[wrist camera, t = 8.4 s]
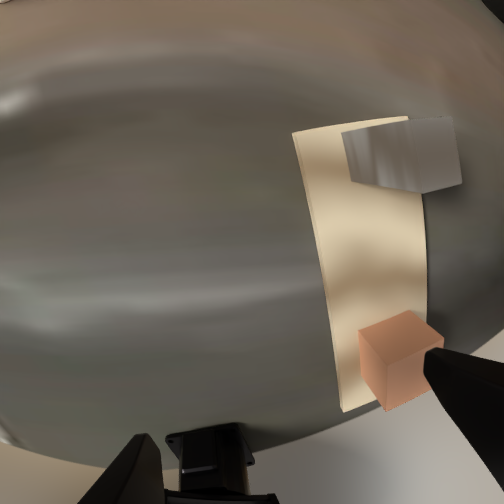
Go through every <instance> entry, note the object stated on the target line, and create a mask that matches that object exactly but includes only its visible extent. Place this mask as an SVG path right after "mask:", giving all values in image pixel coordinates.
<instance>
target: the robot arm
mask: <svg viewBox="0 0 504 504" xmlns="http://www.w3.org/2000/svg"><path fill="white" fill-rule="evenodd" d="M423 374H424V376H425V378H426V380H427V381H428V383H429V385H430V386H431V388H432V390H433V391H434V393H435V395H436V396H437V398H438V400H439V401H440V403H441V405H442V406H443V408H444V409H445V411H446V412H447V413H448V415H449V416H450V417H451V419H452V420H453V421H454V423H455V424H456V425H457V426H458V428H459V429H460V431H461V432H462V433H463V435H464V436H465V437H466V439H467V440H468V441H469V443H470V444H471V446H472V447H473V448H474V450H475V451H476V452H477V454H478V455H479V457H480V458H481V459H482V461H483V462H484V464H485V465H486V466H487V468H488V469H489V471H490V472H491V474H492V475H493V477H494V478H495V479H496V481H497V482H498V484H499V485H500V487H501V488H502V490H503V491H504V363H501V362H497V361H493V360H488V359H484V358H480V357H476V356H472V355H467V354H463V353H459V352H455V351H451V350H447V349H443V348H439V347H434V348H432V349H430V350H428V351H426V353H425V355H424V365H423ZM165 442H166V443H167V445H168V446H169V448H170V449H171V450H172V452H173V453H174V454H175V456H176V457H177V458H178V459H179V490H178V491H171V490H168V489H164V484H163V475H162V464H161V454H160V450H159V448H158V447H157V445H156V444H155V442H154V441H153V440H152V438H151V437H150V435H149V434H147V433H143V434H136V435H134V436H133V438H132V439H131V440H130V441H129V442H128V444H127V445H126V446H125V447H124V448H123V450H122V451H121V452H120V453H119V455H118V456H117V457H116V458H115V459H114V461H113V462H112V463H111V464H110V465H109V467H108V468H107V469H106V470H105V471H104V473H103V474H102V475H101V476H100V477H99V479H98V480H97V481H96V482H95V483H94V484H93V486H92V487H91V488H90V489H89V490H88V491H87V493H86V494H85V495H84V496H83V497H82V499H81V500H80V501H79V502H78V503H77V504H279V501H278V499H277V497H276V495H275V494H274V493H271V494H267V495H251V492H250V486H249V479H248V473H247V466H251V465H254V464H255V460H254V457H253V455H252V453H251V451H250V449H249V447H248V445H247V443H246V441H245V439H244V437H243V435H242V433H241V431H240V428H239V426H238V425H237V424H227V425H223V426H218V427H213V428H208V429H202V430H197V431H191V432H185V433H179V434H172V435H167V436H166V438H165Z"/></svg>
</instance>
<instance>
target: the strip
mask: <svg viewBox="0 0 504 504" xmlns="http://www.w3.org/2000/svg"><path fill="white" fill-rule="evenodd" d="M292 136H293V140H294V144H295V148H296V152H297V157H298V161H299V165H300V169H301V174H302V178H303V182H304V187H305V191H306V196H307V200H308V205H309V210H310V215H311V219H312V224H313V229H314V234H315V239H316V245H317V250H318V255H319V261H320V266H321V272H322V277H323V283H324V289H325V295H326V301H327V307H328V314H329V320H330V327H331V334H332V341H333V348H334V355H335V363H336V371H337V379H338V388H339V397H340V406H341V408H342V410H343V412H347V411H349V410H352V409H354V408H357V407H359V406H362V405H364V404H367V403H369V402H371V401H374V400H376V399H377V398H376V397H375V395H374V394H373V392H372V391H371V389H370V388H369V386H368V385H367V384H366V382H365V381H364V379H363V378H362V376H361V367H360V352H359V339H358V330H360V329H363V328H366V327H368V326H371V325H373V324H376V323H378V322H381V321H383V320H386V319H388V318H391V317H393V316H396V315H398V314H400V313H403V312H405V311H408V310H410V311H412V312H413V313H414V314H415V315H417V316H418V317H419V318H420V319H422V320H423V321H424V322H425V323H426V315H427V262H426V241H425V227H424V215H423V205H422V196H421V193H422V194H423V193H427V192H431V191H435V190H439V189H443V188H447V187H451V186H455V185H459V184H462V178H461V169H460V162H459V155H458V148H457V142H456V136H455V131H454V126H453V121H452V116H448V117H433V118H421V119H410V120H408V116H401V117H392V118H383V119H374V120H367V121H359V122H352V123H346V124H339V125H333V126H327V127H321V128H315V129H310V130H305V131H299V132H295V133H292Z"/></svg>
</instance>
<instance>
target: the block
mask: <svg viewBox="0 0 504 504" xmlns="http://www.w3.org/2000/svg"><path fill="white" fill-rule="evenodd" d="M358 339H359V352H360V367H361V376H362V378H363V379H364V381H365V382H366V384H367V385H368V386H369V388H370V389H371V391H372V392H373V394H374V395H375V397H376V398H377V400H378V401H379V403H380V404H381V405H382V407H383V408H384V410H385V411H386V412H387V411H389V410H391V409H393V408H395V407H397V406H399V405H401V404H403V403H406V402H407V401H410V400H412V399H414V398H415V397H417V396H419V395H421V394H423V393H425V392H427V391H429V390H431V389H432V388H431V386H430V385H429V383H428V381H427V380H426V378H425V376H424V374H423V365H424V355H425V353H426V351H428V350H430V349H432V348H434V347H439V348H443V345H444V337H442V336H441V335H440V334H439V333H438V332H436V331H435V330H434V329H433V328H431V327H430V326H429V325H428V324H427V323H425V322H424V321H423V320H422V319H420V318H419V317H418V316H417V315H415V314H414V313H413V312H412V311H410V310H408V311H405V312H403V313H400V314H398V315H396V316H393V317H391V318H388V319H386V320H383V321H381V322H378V323H376V324H373V325H371V326H368V327H366V328H363V329H360V330H358Z"/></svg>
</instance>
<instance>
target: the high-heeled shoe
mask: <svg viewBox="0 0 504 504" xmlns="http://www.w3.org/2000/svg"><path fill="white" fill-rule="evenodd" d="M482 1H483V2H484V4H485V5H486V6H487V7H488V8H489V9H490V10H491V11H492V12H493V13H494V14H495V15H496V16H497V17H498V18H499V19H500V20H501V21H502V22H503V23H504V0H482Z"/></svg>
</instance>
